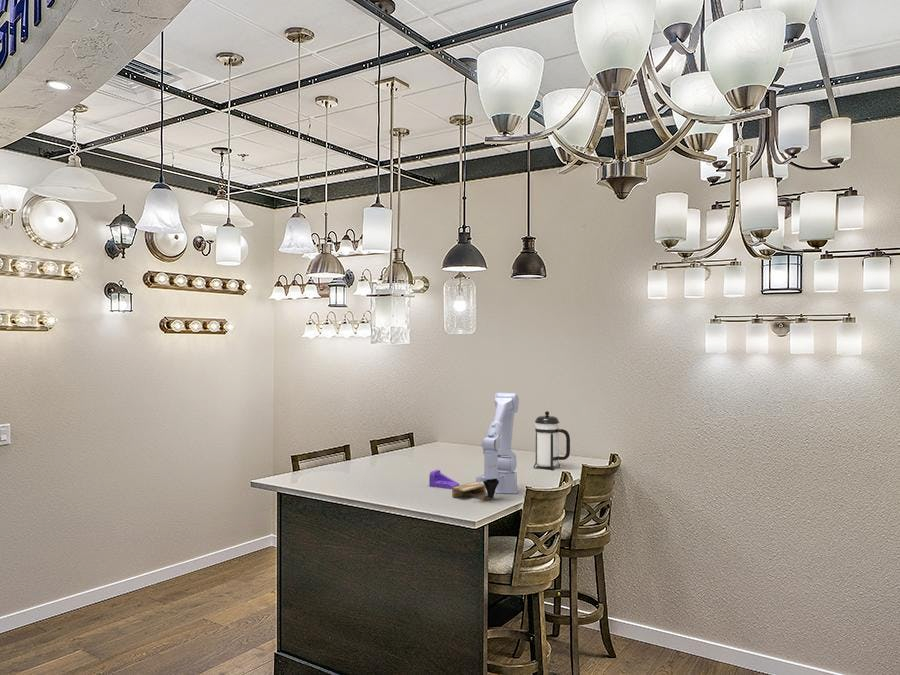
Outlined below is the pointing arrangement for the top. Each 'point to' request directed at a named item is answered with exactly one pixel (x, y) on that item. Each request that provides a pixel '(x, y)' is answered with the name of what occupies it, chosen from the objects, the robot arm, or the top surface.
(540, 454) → the coffee press
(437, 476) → the bracket
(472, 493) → the grey rectangular block
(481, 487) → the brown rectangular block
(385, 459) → the top surface
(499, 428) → the robot arm
